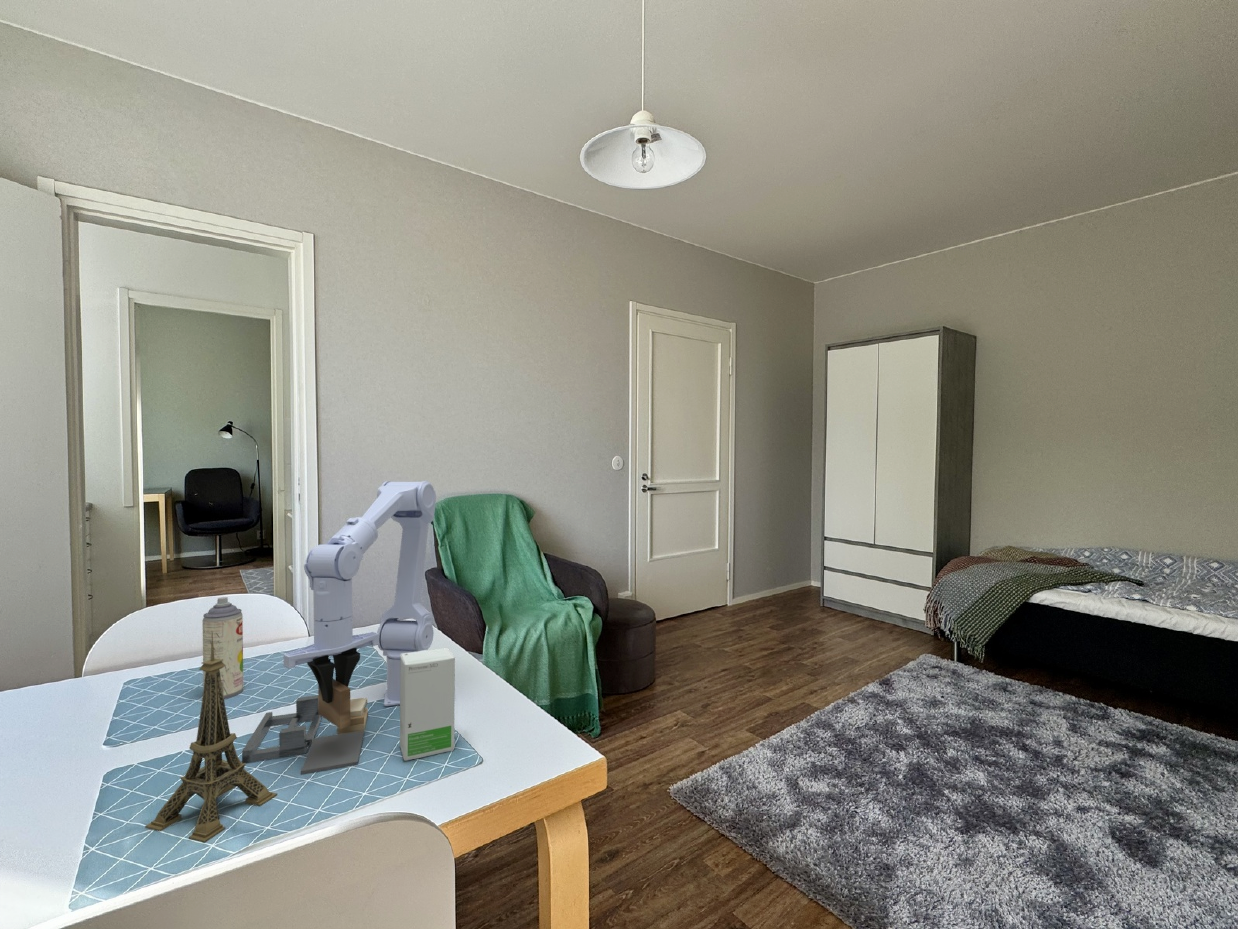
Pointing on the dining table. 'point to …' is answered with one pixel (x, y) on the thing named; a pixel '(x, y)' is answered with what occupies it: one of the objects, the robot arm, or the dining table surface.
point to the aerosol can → (225, 644)
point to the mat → (333, 752)
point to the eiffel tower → (211, 764)
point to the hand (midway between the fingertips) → (334, 698)
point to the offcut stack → (356, 716)
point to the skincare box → (427, 702)
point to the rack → (285, 732)
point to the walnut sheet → (336, 705)
